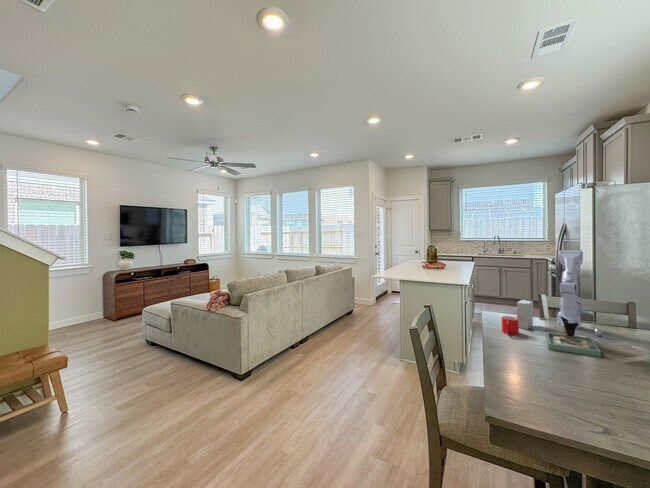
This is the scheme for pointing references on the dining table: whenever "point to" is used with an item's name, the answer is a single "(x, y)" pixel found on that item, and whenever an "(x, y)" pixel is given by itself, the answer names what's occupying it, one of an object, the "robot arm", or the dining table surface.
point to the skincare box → (525, 313)
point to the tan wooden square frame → (558, 338)
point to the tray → (571, 349)
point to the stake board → (605, 336)
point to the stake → (598, 330)
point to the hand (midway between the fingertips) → (569, 333)
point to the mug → (510, 325)
